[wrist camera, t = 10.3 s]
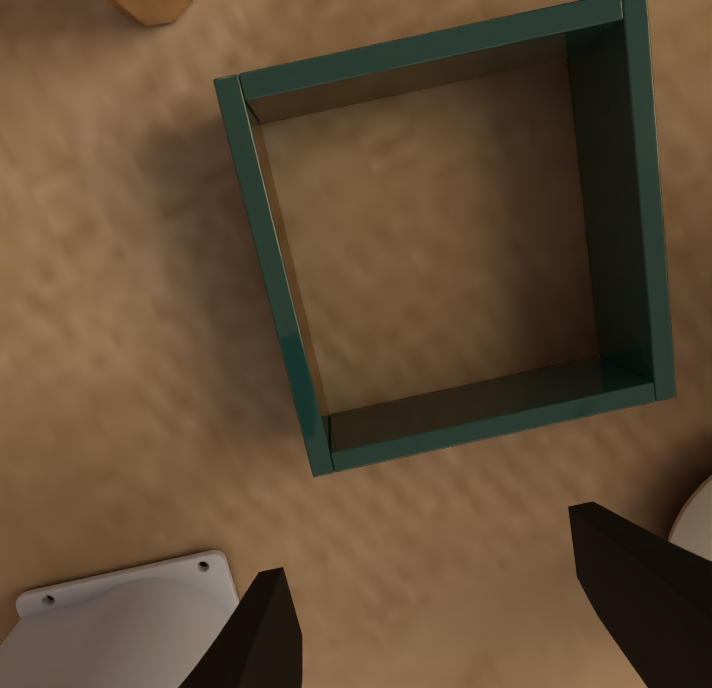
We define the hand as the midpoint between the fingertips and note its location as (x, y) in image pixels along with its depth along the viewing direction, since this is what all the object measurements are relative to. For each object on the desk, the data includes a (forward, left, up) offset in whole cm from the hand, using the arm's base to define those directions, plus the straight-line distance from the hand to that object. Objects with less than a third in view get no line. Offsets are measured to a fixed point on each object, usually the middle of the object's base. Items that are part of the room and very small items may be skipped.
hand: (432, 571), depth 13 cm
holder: (+4, +7, -10) cm, 13 cm away
